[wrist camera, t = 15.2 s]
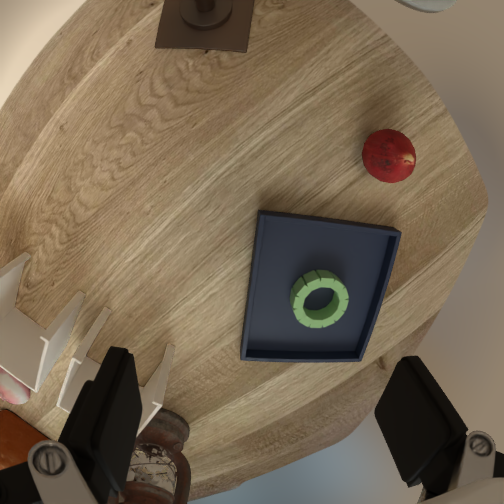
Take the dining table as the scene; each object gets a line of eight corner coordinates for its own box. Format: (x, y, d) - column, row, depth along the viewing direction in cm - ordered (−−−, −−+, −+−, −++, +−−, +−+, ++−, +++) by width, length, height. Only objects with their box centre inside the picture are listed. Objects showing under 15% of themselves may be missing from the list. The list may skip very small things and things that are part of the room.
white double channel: (12, 307, 36) (-25, 345, 26) (25, 251, 34) (-22, 285, 23) (145, 390, 43) (130, 444, 32) (175, 346, 40) (162, 405, 30)
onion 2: (357, 182, 34) (389, 194, 26) (347, 133, 32) (378, 133, 24) (398, 173, 34) (436, 183, 26) (390, 126, 32) (428, 125, 24)
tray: (393, 227, 36) (402, 232, 34) (356, 352, 42) (361, 361, 40) (258, 209, 34) (259, 214, 32) (239, 350, 41) (240, 360, 39)
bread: (63, 446, 49) (45, 495, 35) (41, 467, 54) (27, 504, 40) (2, 402, 44) (-24, 447, 30) (-7, 432, 49) (-26, 468, 35)
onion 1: (0, 352, 39) (-19, 375, 33) (30, 360, 40) (11, 386, 33) (14, 383, 42) (-2, 407, 35) (43, 392, 43) (28, 418, 36)
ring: (347, 271, 37) (354, 280, 35) (335, 318, 39) (340, 328, 37) (295, 267, 36) (299, 276, 34) (285, 316, 39) (288, 327, 36)
